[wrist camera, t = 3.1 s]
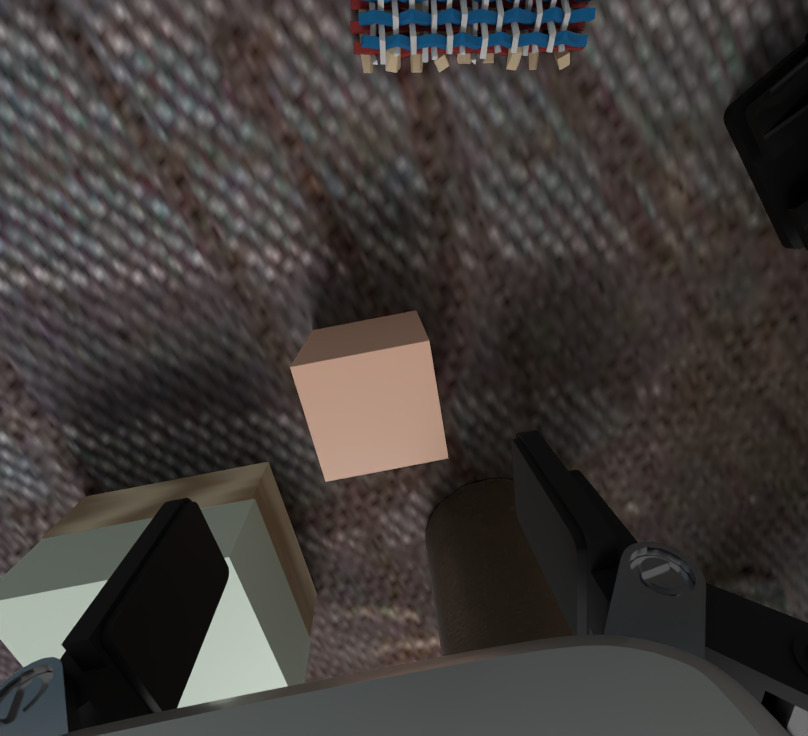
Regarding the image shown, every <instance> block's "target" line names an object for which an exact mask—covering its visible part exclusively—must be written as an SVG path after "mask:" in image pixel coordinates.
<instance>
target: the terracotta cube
mask: <svg viewBox="0 0 808 736" xmlns="http://www.w3.org/2000/svg"><path fill="white" fill-rule="evenodd" d="M290 369H291V372H292V375H293V378H294V381H295V385H296V388H297V391H298V394H299V398H300V401H301V404H302V407H303V410H304V414H305V417H306V420H307V423H308V427H309V430H310V433H311V436H312V439H313V443H314V446H315V449H316V452H317V456H318V459H319V462H320V465H321V468H322V472H323V475H324V478H325V481H326V482H327V481H332V480H337V479H342V478H348V477H353V476H358V475H363V474H369V473H374V472H379V471H385V470H390V469H395V468H400V467H406V466H411V465H416V464H421V463H427V462H432V461H437V460H443V459H448V453H447V447H446V440H445V434H444V428H443V422H442V416H441V410H440V403H439V397H438V391H437V385H436V379H435V372H434V366H433V360H432V354H431V348H430V342H429V339H428V336H427V334H426V332H425V329H424V327H423V325H422V323H421V320H420V318H419V316H418V313H417V311H416V310H415V311H410V312H405V313H400V314H394V315H389V316H384V317H379V318H374V319H368V320H363V321H358V322H353V323H348V324H342V325H337V326H332V327H327V328H321V329H316V330H312V332H311V333H310V335H309V337H308V338H307V340H306V342H305V343H304V345H303V347H302V348H301V350H300V352H299V353H298V355H297V357H296V358H295V360H294V362H293V363H292V365H291V366H290Z"/></svg>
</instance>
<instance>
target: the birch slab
mask: <svg viewBox="0 0 808 736" xmlns="http://www.w3.org/2000/svg"><path fill="white" fill-rule="evenodd" d="M182 498H189V499H191V500H192V502H193V501H194V502H196V503H197V504H198V505H199V507H200V509H203V508H208V507H214V506H219V505H224V504H230V503H235V502H241V501H246V500H251V499H255V500H256V503H257V506H258V508H259V511H260V513H261V516H262V518H263V521H264V523H265V526H266V528H267V531H268V533H269V536H270V538H271V541H272V544H273V546H274V549H275V551H276V554H277V556H278V559H279V561H280V564H281V566H282V569H283V571H284V574H285V577H286V579H287V582H288V584H289V587H290V589H291V592H292V594H293V597H294V599H295V602H296V604H297V607H298V610H299V612H300V615H301V617H302V620H303V622H304V625H305V627H306V630H307V632H308V635H309V637H310V631H311V625H312V619H313V613H314V607H315V601H316V595H317V592H316V590H315V587H314V584H313V581H312V579H311V576H310V573H309V571H308V568H307V565H306V562H305V560H304V557H303V554H302V552H301V549H300V546H299V543H298V541H297V538H296V535H295V532H294V530H293V527H292V524H291V522H290V519H289V516H288V513H287V511H286V508H285V505H284V503H283V500H282V497H281V494H280V492H279V489H278V486H277V484H276V481H275V478H274V475H273V473H272V470H271V467H270V464H269V462H264V463H259V464H253V465H248V466H243V467H238V468H232V469H227V470H222V471H217V472H212V473H206V474H201V475H196V476H191V477H185V478H180V479H175V480H170V481H164V482H159V483H154V484H149V485H143V486H138V487H133V488H128V489H122V490H117V491H112V492H107V493H101V494H96V495H91V496H86V497H85V498H83V499H82V500H81V501H80V502H79V503H78V504H77V505H76V506H75V507H74V508H73V509H72V510H71V511H70V512H69V513H67V514H66V515H65V516H64V517H63V518H62V519H61V520H60V521H59V522H58V523H57V524H56V525H55V526H54V527H53V528H52V529H50V530H49V531H48V532H47V533H46V534H45V535H44V536H43V537H42V538H41V540H42V539H44V538H49V537H54V536H60V535H65V534H70V533H76V532H81V531H86V530H91V529H97V528H102V527H107V526H113V525H118V524H123V523H128V522H134V521H139V520H144V519H150V518H153V517H154V516H155V515H156V513H157V512H158V511H159V509H160V508H161V506H162V505H163V504H164V503H165V502H167V501H171V500H177V499H182Z"/></svg>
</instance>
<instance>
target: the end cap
mask: <svg viewBox="0 0 808 736" xmlns="http://www.w3.org/2000/svg"><path fill="white" fill-rule="evenodd" d="M805 40H806V42H804V43H803V44H802V45H800V46H799V47H798V48H796V49H795V50H794V51H793V52H791V53H790V54H789V55H788V56H787V57H785V58H784V59H783V60H782V61H781V62H780V63H778V64H777V65H776V66H775V67H774V68H773V69H771V70H770V71H769V72H768V73H767V74H766V75H764V76H763V77H762V78H761V79H760V80H759V81H758V82H756V83H755V84H754V85H753V86H752V87H751V88H749V89H748V90H747V91H746V92H745V93H744V94H742V95H741V96H740V97H739V98H738V99H737V100H735V101H734V102H733V103H732V104H731V105H730V106H729V107H728V108H727V110H726V112H725V115H724V123H725V126H726V128H727V130H728V132H729V134H730V136H731V138H732V140H733V142H734V145H735V147H736V149H737V151H738V153H739V155H740V157H741V159H742V161H743V163H744V165H745V168H746V170H747V172H748V174H749V176H750V178H751V180H752V182H753V184H754V186H755V189H756V191H757V193H758V195H759V197H760V199H761V201H762V203H763V205H764V207H765V209H766V212H767V214H768V216H769V218H770V220H771V222H772V224H773V226H774V228H775V230H776V232H777V235H778V237H779V239H780V241H781V243H782V245H783V246H784V247H785V248H794V249H800V248H803V247H805V248H806V249H807V250H808V33H807V35H806V37H805Z"/></svg>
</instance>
